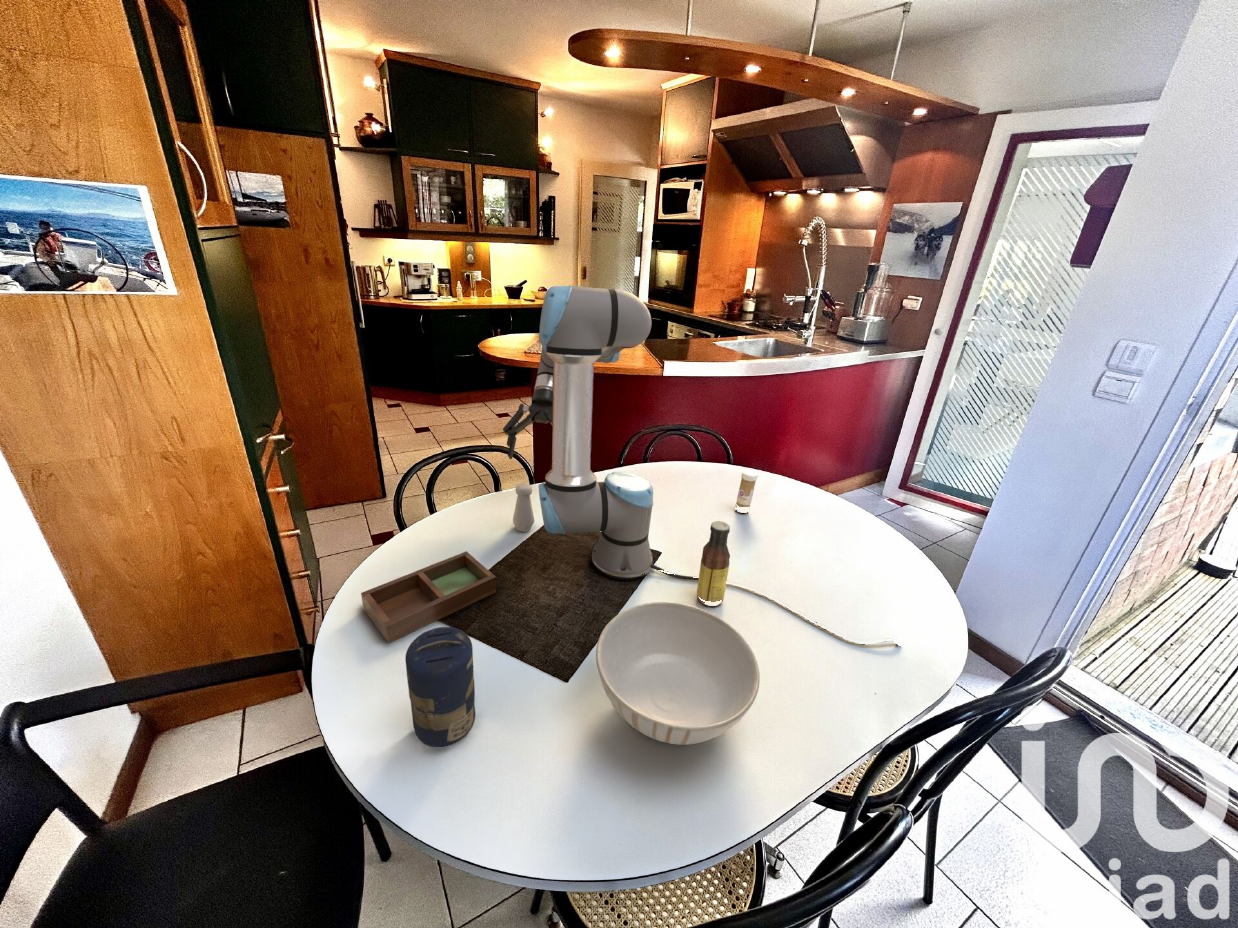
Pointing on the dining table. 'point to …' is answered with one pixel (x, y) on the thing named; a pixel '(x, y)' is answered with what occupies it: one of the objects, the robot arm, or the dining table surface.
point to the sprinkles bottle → (746, 488)
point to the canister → (441, 686)
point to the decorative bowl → (676, 671)
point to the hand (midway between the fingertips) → (533, 460)
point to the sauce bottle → (714, 564)
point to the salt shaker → (523, 508)
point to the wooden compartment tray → (427, 595)
